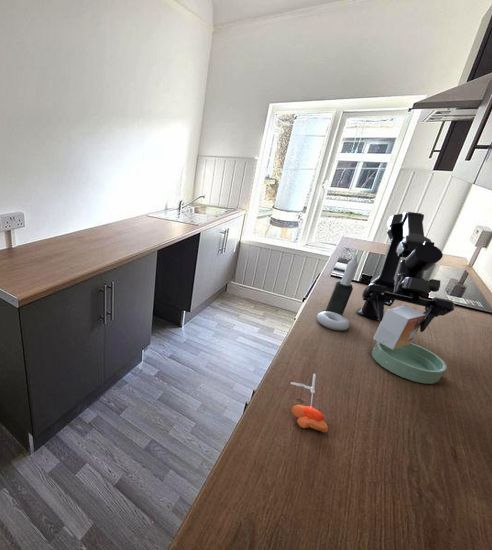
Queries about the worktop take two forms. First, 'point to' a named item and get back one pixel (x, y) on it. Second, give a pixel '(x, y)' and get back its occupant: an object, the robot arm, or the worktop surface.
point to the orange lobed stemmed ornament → (309, 413)
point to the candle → (343, 289)
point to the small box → (398, 327)
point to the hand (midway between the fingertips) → (400, 325)
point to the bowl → (410, 362)
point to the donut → (333, 321)
